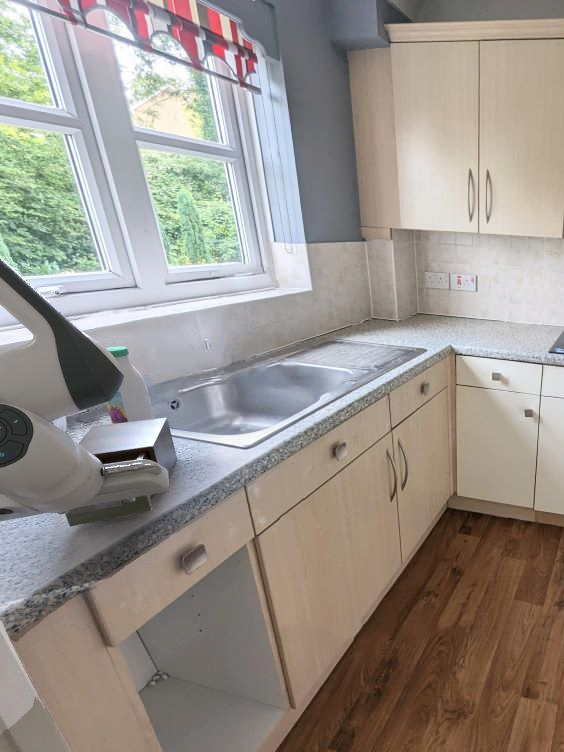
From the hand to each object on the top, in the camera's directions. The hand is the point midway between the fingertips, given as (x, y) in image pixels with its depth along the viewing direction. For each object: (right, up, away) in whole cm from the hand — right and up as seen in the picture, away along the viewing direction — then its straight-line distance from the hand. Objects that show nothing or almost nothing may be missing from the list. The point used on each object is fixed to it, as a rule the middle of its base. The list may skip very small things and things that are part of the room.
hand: (99, 503), depth 72 cm
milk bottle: (-27, +9, +38) cm, 47 cm away
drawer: (-4, -2, +7) cm, 8 cm away
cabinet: (-9, +1, +16) cm, 19 cm away
